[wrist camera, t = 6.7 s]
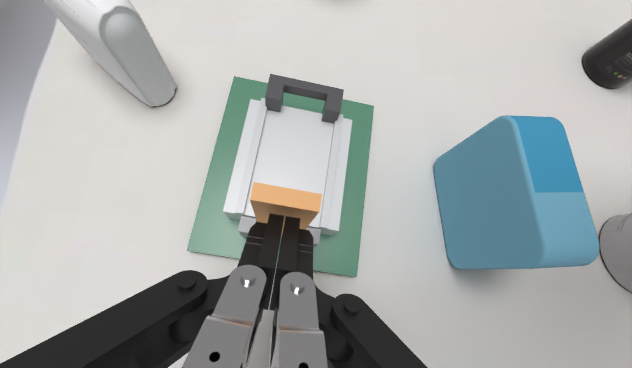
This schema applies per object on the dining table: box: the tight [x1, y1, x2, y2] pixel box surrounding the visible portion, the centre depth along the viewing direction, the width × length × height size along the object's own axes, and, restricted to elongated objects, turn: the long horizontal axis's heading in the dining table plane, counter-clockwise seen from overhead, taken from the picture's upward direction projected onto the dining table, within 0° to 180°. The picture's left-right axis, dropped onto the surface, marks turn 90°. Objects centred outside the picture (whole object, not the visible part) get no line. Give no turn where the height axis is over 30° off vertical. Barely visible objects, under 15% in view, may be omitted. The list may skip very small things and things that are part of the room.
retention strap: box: [250, 182, 322, 239], centre depth 19 cm, size 1×3×13 cm, turn 81°
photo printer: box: [43, 0, 177, 107], centre depth 26 cm, size 10×4×12 cm, turn 50°
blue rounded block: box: [434, 116, 600, 269], centre depth 27 cm, size 12×4×12 cm, turn 3°
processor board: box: [187, 74, 374, 277], centre depth 28 cm, size 19×16×7 cm
